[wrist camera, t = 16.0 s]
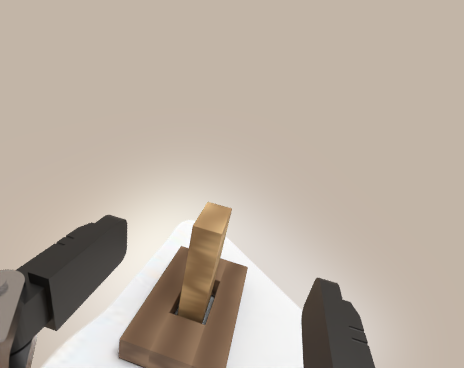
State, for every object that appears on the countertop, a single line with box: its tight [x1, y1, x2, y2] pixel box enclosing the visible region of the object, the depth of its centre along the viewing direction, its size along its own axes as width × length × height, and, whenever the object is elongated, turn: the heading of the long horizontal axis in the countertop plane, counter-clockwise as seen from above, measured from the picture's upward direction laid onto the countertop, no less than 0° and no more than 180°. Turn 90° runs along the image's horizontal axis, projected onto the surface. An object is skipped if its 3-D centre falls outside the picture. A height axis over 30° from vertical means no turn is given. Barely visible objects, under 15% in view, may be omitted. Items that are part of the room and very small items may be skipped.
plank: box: [177, 202, 232, 324], centre depth 30 cm, size 3×6×15 cm, turn 169°
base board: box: [119, 246, 248, 368], centre depth 32 cm, size 11×16×3 cm
